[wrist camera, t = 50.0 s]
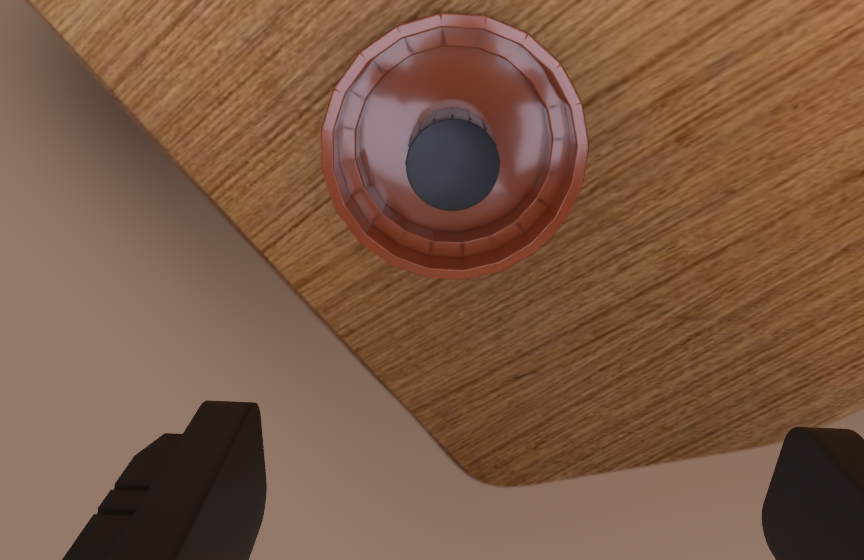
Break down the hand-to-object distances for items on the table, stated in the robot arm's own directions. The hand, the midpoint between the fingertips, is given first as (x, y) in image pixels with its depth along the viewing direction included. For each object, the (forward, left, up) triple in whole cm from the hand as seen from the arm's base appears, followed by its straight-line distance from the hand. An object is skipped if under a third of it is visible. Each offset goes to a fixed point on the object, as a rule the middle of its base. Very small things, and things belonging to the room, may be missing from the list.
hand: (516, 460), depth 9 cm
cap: (0, +1, -19) cm, 19 cm away
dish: (+1, +1, -21) cm, 21 cm away
